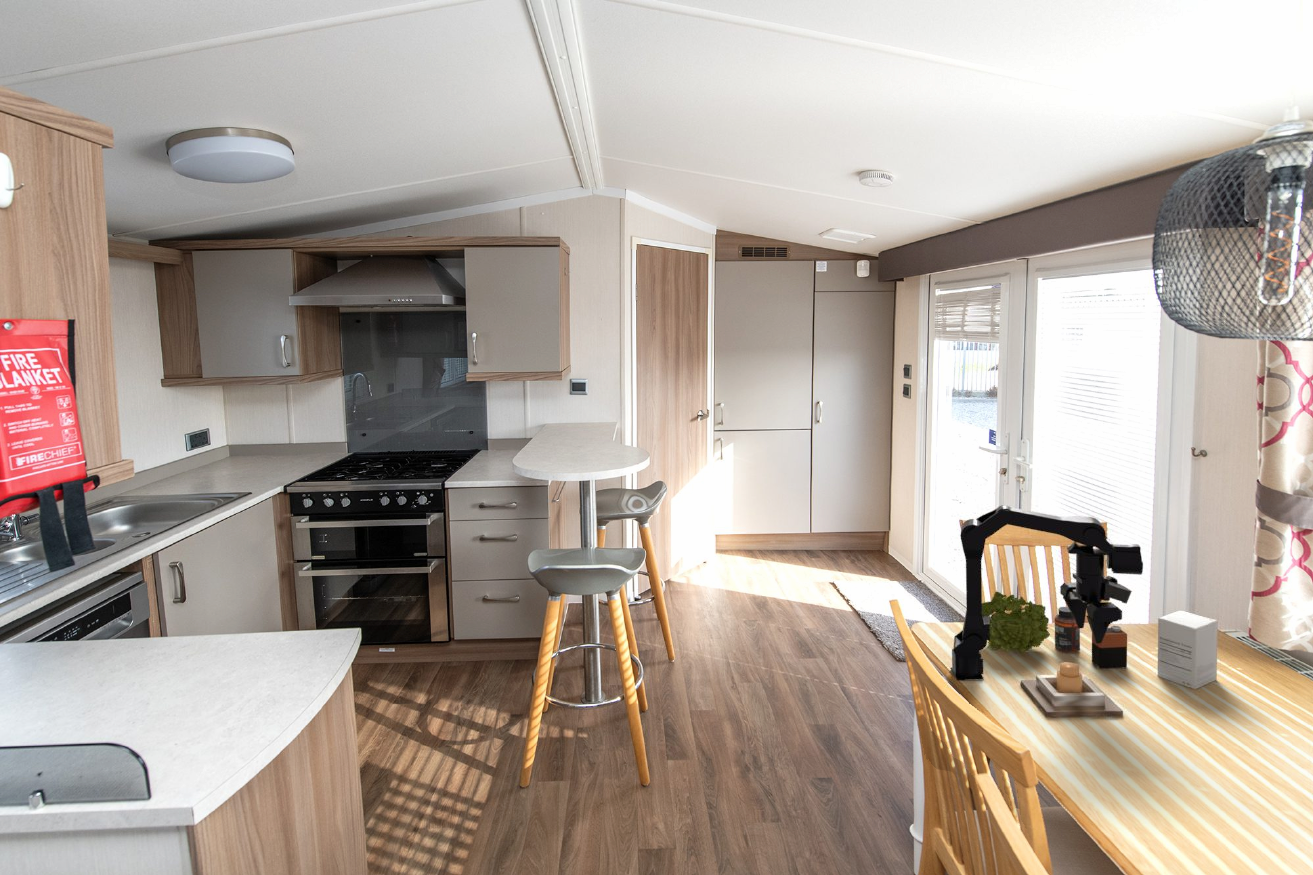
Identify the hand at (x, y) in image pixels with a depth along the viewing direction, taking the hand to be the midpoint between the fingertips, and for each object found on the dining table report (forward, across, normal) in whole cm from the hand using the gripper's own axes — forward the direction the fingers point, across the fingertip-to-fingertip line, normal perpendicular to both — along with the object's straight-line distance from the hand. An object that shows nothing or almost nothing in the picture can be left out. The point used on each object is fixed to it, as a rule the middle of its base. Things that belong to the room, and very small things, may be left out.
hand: (1089, 635), depth 182 cm
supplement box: (+13, +4, -24) cm, 28 cm away
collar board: (+13, -6, +7) cm, 16 cm away
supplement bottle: (+13, +22, -4) cm, 26 cm away
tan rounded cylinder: (+12, -6, +7) cm, 15 cm away
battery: (+13, +12, -10) cm, 20 cm away
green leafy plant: (+13, +23, +10) cm, 28 cm away
